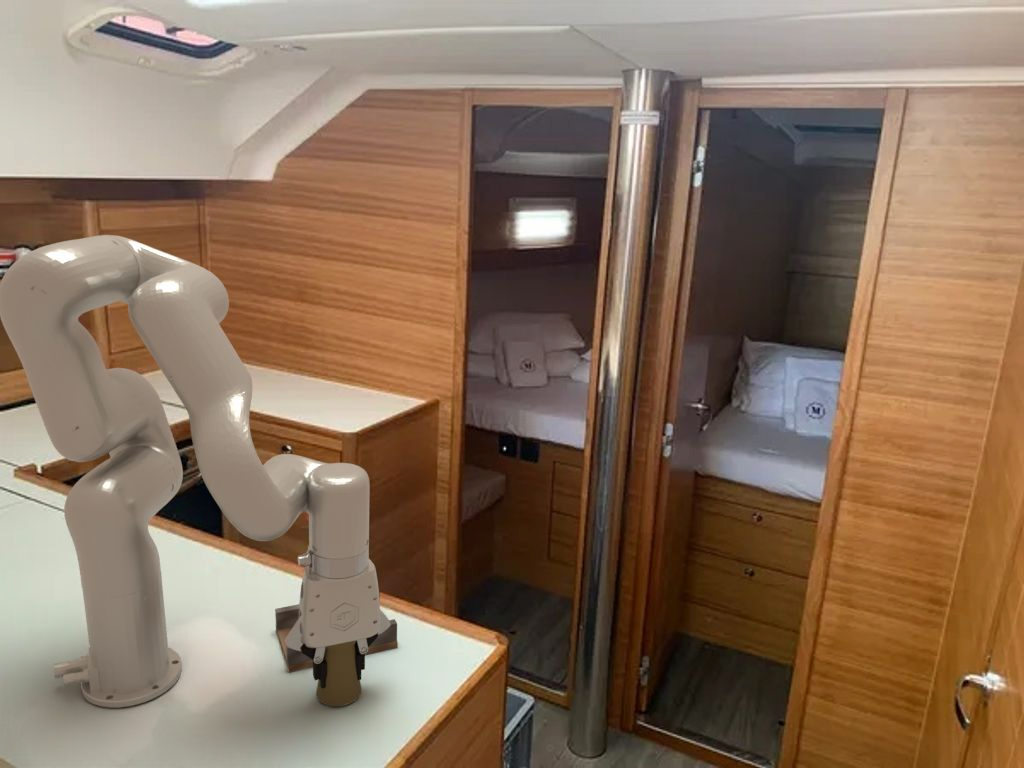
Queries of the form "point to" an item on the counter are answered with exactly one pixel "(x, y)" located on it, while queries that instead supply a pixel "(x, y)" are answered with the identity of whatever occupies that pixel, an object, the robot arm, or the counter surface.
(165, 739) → the counter surface
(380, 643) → the track
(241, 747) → the counter surface
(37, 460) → the counter surface
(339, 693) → the olive brown pawn
